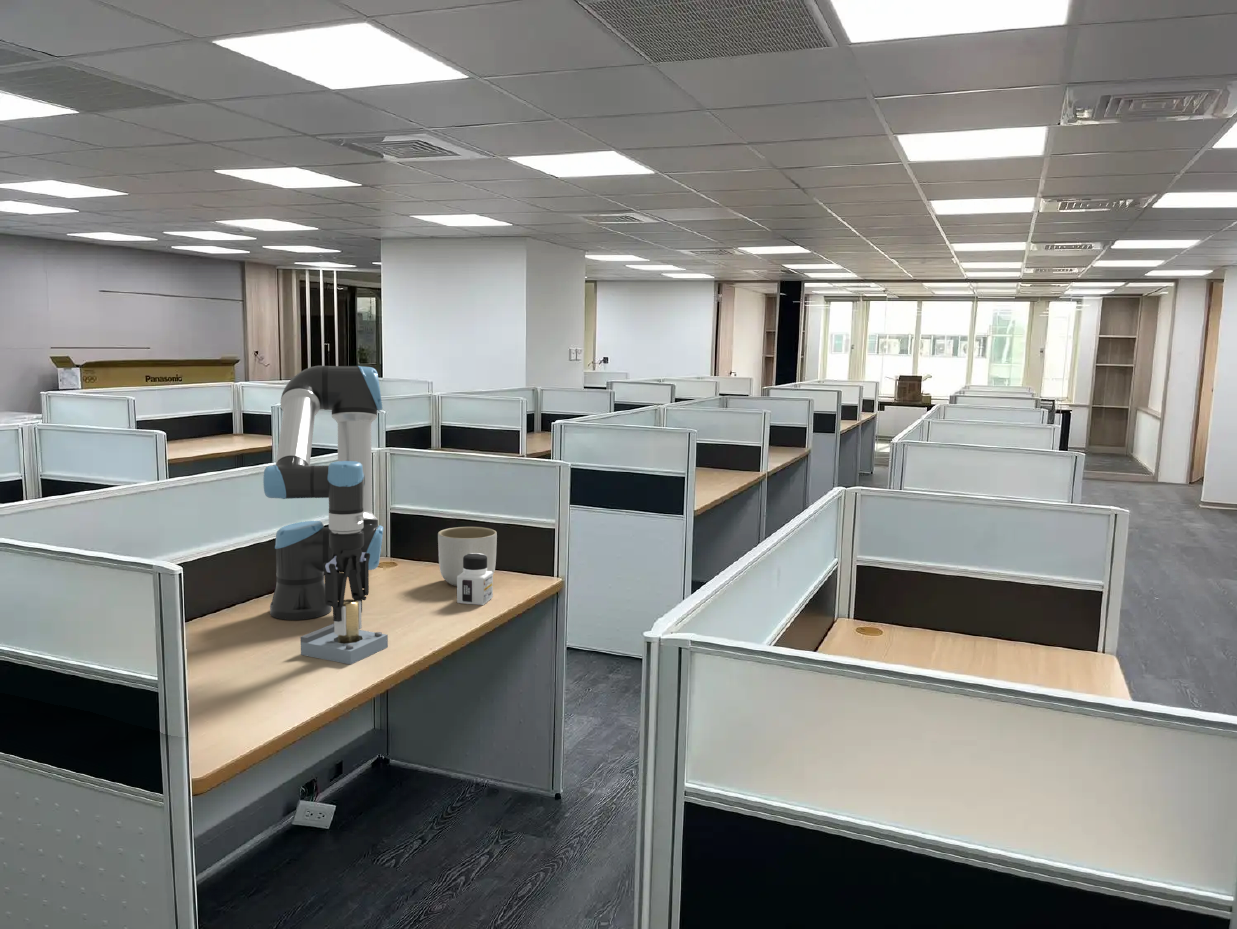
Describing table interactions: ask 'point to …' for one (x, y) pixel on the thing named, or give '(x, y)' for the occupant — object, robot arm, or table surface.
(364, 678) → the table surface
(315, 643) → the jig
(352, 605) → the brass cylinder
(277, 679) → the table surface
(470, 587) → the container
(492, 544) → the planter
